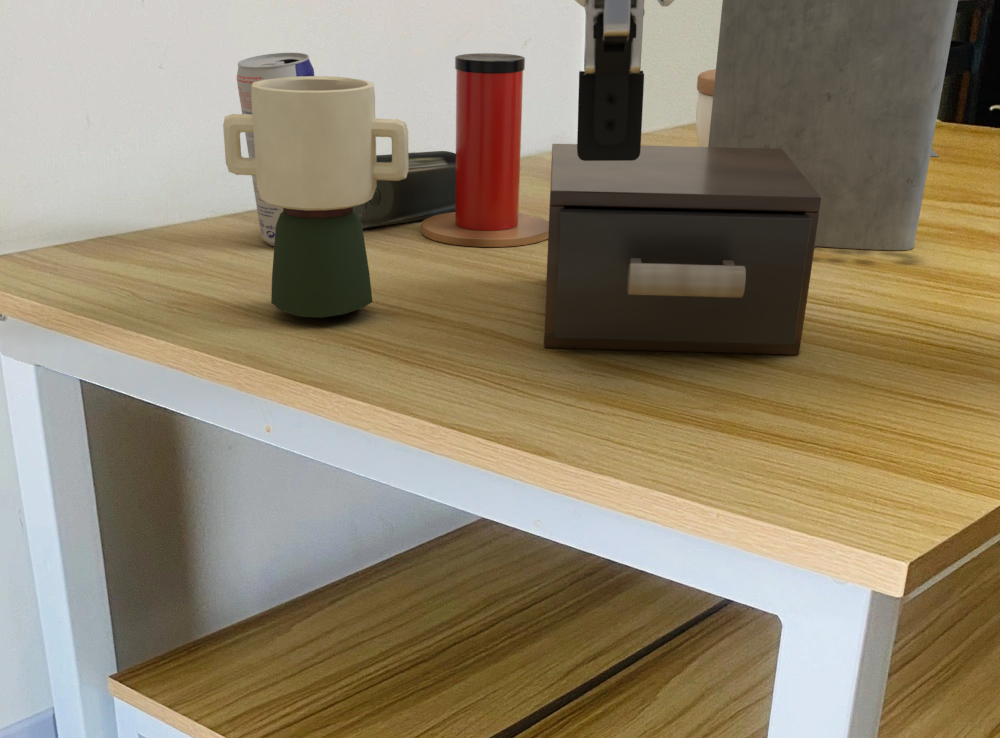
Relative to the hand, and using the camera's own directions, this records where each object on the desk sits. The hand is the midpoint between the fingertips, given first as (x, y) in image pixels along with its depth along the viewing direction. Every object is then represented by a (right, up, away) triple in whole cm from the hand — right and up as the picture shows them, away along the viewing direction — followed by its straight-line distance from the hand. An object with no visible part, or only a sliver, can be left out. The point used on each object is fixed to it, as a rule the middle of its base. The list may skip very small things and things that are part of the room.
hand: (608, 156), depth 71 cm
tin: (-6, +9, +33) cm, 35 cm away
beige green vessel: (-16, -4, +14) cm, 22 cm away
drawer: (+5, -5, +11) cm, 13 cm away
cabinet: (+5, -4, +14) cm, 16 cm away
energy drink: (-20, +6, +30) cm, 37 cm away
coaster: (-6, +8, +34) cm, 35 cm away
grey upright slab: (+18, +7, +33) cm, 38 cm away
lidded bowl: (+19, +17, +49) cm, 55 cm away
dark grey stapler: (-13, +9, +36) cm, 40 cm away
